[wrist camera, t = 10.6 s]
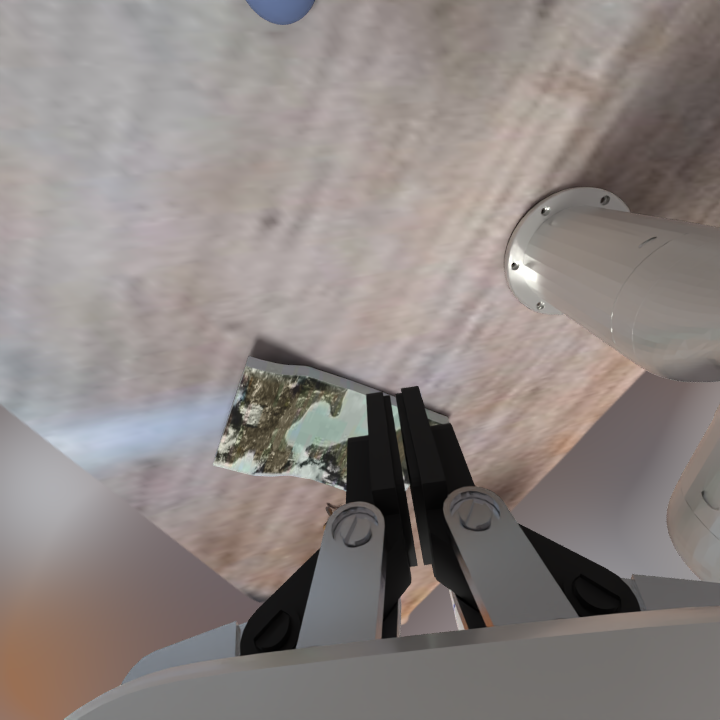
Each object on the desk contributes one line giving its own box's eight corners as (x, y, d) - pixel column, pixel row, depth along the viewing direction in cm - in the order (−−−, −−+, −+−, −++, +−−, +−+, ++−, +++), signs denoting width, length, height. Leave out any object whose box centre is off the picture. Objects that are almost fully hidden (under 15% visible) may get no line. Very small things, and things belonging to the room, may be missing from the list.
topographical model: (446, 412, 48) (455, 441, 44) (393, 481, 56) (396, 511, 52) (252, 347, 42) (241, 373, 38) (223, 435, 50) (211, 464, 46)
